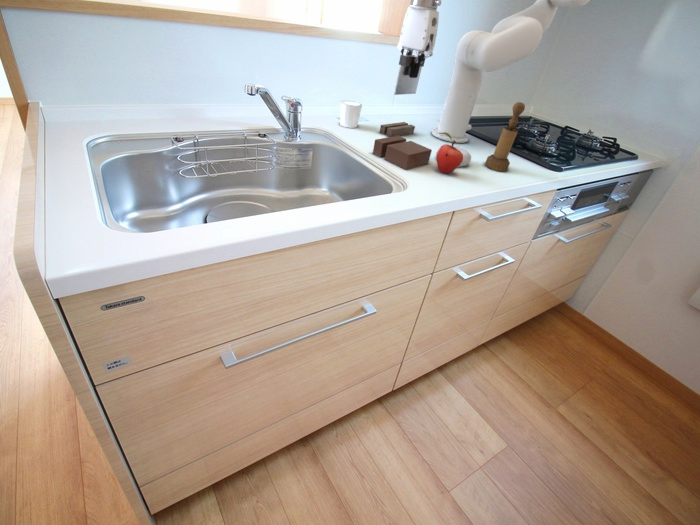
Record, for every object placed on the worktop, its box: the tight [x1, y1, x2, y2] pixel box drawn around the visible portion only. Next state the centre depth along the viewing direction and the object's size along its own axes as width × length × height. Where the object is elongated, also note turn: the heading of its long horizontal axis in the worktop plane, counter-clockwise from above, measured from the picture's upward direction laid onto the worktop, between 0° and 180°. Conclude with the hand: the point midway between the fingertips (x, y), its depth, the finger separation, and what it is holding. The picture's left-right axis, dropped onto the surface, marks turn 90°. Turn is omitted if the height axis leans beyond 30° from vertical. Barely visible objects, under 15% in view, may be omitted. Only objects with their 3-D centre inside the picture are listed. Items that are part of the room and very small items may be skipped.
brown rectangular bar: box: [372, 136, 407, 158], centre depth 103 cm, size 10×3×4 cm, turn 133°
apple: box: [435, 132, 463, 174], centre depth 96 cm, size 8×7×10 cm
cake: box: [384, 140, 433, 171], centre depth 100 cm, size 10×8×4 cm
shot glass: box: [339, 100, 363, 129], centre depth 120 cm, size 7×7×7 cm
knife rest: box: [379, 121, 416, 138], centre depth 122 cm, size 12×5×2 cm, turn 133°
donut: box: [435, 145, 472, 167], centre depth 105 cm, size 10×4×10 cm
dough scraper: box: [393, 54, 426, 96], centre depth 111 cm, size 10×2×11 cm, turn 132°
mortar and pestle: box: [484, 101, 526, 172], centre depth 102 cm, size 7×6×18 cm
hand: (409, 75), depth 111 cm, fingers closed on dough scraper, 2 cm apart
